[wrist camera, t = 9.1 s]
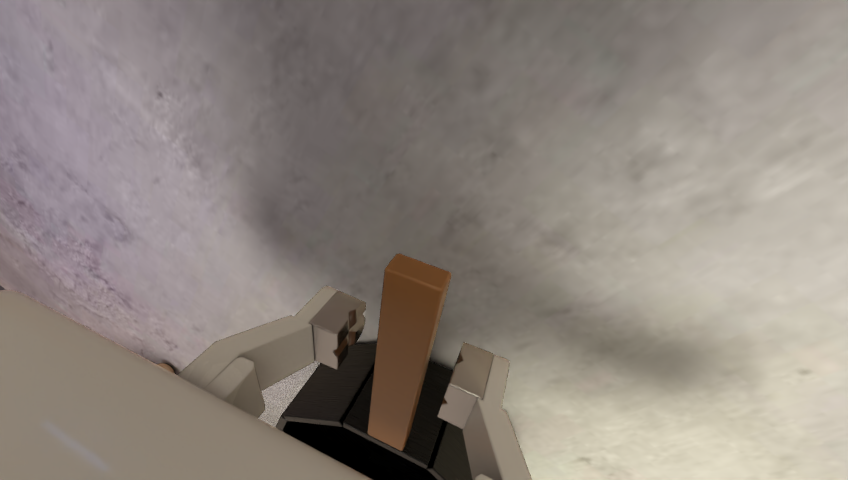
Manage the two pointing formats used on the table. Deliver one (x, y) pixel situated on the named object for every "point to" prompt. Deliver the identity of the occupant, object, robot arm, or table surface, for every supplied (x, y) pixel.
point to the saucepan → (387, 390)
